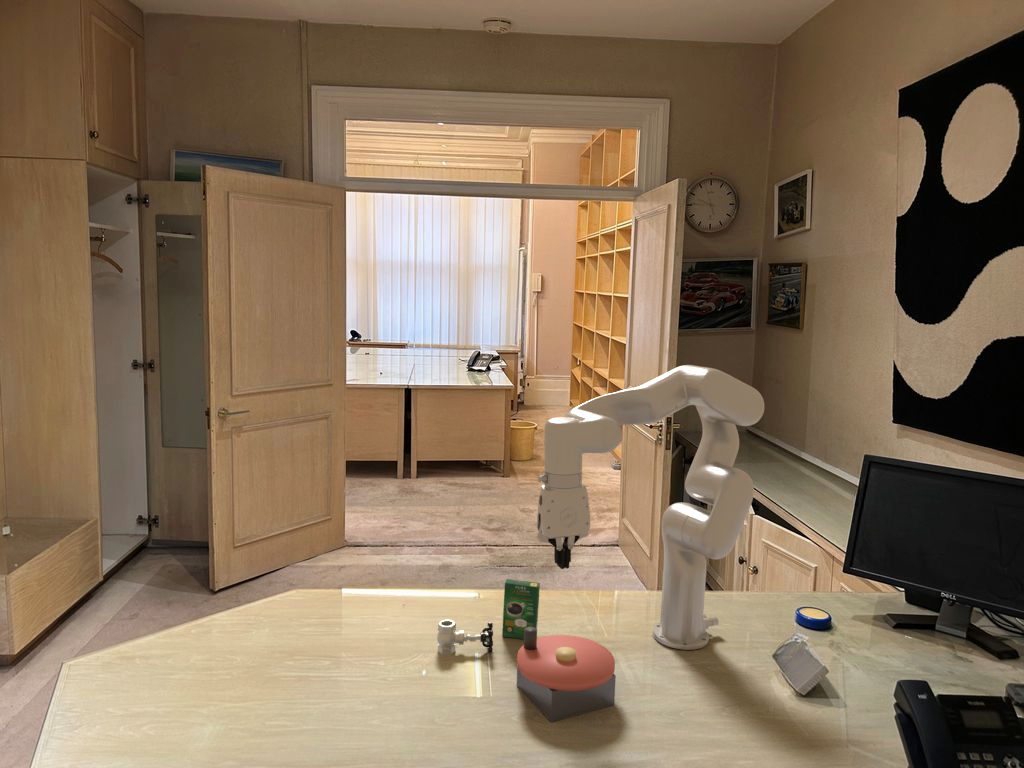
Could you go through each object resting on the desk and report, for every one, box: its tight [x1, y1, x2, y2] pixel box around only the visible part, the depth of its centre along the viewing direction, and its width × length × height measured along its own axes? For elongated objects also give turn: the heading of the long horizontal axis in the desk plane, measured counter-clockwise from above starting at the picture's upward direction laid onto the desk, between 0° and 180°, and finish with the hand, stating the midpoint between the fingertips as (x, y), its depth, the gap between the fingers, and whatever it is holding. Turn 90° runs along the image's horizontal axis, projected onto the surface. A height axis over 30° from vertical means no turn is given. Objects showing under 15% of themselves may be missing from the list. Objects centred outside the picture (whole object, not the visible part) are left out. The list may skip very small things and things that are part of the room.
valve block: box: [516, 665, 617, 723], centre depth 144 cm, size 14×14×6 cm
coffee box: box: [501, 578, 541, 640], centre depth 167 cm, size 8×3×13 cm, turn 79°
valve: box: [436, 619, 494, 656], centre depth 160 cm, size 7×7×12 cm
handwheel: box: [516, 627, 616, 691], centre depth 143 cm, size 19×19×5 cm
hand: (562, 566), depth 150 cm, fingers closed
